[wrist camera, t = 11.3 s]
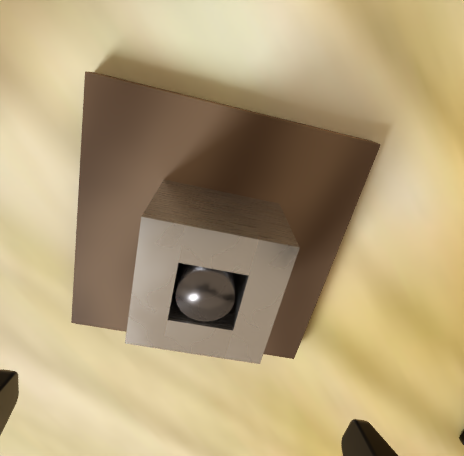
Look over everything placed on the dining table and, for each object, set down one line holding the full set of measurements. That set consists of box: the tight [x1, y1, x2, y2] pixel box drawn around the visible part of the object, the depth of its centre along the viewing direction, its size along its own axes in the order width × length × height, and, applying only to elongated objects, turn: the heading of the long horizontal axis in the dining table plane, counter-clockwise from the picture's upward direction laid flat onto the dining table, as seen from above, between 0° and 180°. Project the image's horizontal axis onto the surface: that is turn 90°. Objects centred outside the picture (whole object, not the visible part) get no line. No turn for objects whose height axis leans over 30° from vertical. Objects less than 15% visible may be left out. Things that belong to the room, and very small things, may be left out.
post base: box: [71, 72, 380, 359], centre depth 16 cm, size 14×14×6 cm
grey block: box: [125, 180, 300, 364], centre depth 16 cm, size 6×6×5 cm
